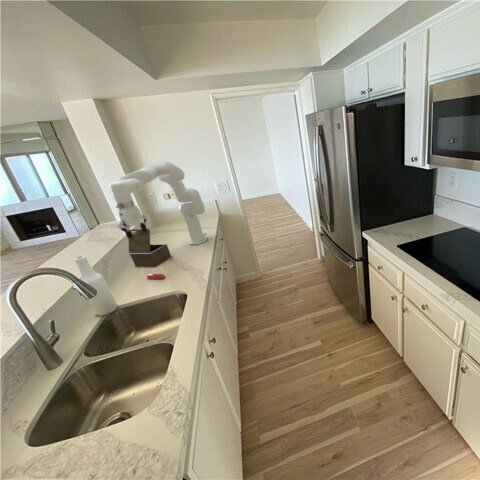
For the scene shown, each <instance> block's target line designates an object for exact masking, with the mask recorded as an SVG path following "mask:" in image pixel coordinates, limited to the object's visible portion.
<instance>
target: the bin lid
mask: <svg viewBox="0 0 480 480" xmlns="http://www.w3.org/2000/svg"><path fill="white" fill-rule="evenodd" d="M129 231H131V233H132V236H133V238H127V239H128V253H129V254H130V253H150V244H151V230H150V228H147V231H145V232H143V231H142V229H141V228H140V229H139V228H137V229H129Z"/></svg>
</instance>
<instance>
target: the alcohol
mask: <svg viewBox="0 0 480 480" xmlns="http://www.w3.org/2000/svg"><path fill="white" fill-rule="evenodd" d="M87 259H88V258H87V257H86V256H85V255H80V256H77V257H75V258H74V261H75V263H76V266H77V268H78V270H79V273H80V275H81V279H80V280H82V281H84V282H85V283H87V284H89V285H91V286H92V287H94V288H95V289H96V290H97V295H96V296H95V297H94V298H93V299H91V300H88V302H89V304H90V306H91V307H92V309H93V311H94V312H95V314H96V315H97V316H99V317H100V316H101V317H103V316H107V315H108V314H109V315H110V314H111V313H113V312H114V311H115V310H116V309H117V308H118V302H117V301H116V299H115V297H114V295H113V293H112V291H111V289H110V287H109V285H108V284H107V281H106V280H105V277H104V276H103V275H102V274H101V273H99V272H96V271H95V270H94V268H93V267H92V266H91V264H90V263H89V261H88V260H87Z"/></svg>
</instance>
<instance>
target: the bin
mask: <svg viewBox="0 0 480 480" xmlns="http://www.w3.org/2000/svg"><path fill="white" fill-rule="evenodd" d="M129 255H130V258H131V260H132V262H133V264H134V266H135V267H137V268H139V267H140V268H142V267H143V268H145V267H146V268H156V267H158V266H160V265H161V264H162V263H164V262H165V261H167V260H169V259H170V258H171V257H172V254H171V252H170V250H169V246H168V244H167V243H156V244H155V243H154V244H153V243H152V244H151V243H150V253H129Z"/></svg>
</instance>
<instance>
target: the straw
mask: <svg viewBox="0 0 480 480" xmlns="http://www.w3.org/2000/svg"><path fill="white" fill-rule="evenodd" d="M146 278H147V279H148V280H164V279H165V278H166V275H165V273H148V274H147V275H146Z"/></svg>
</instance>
